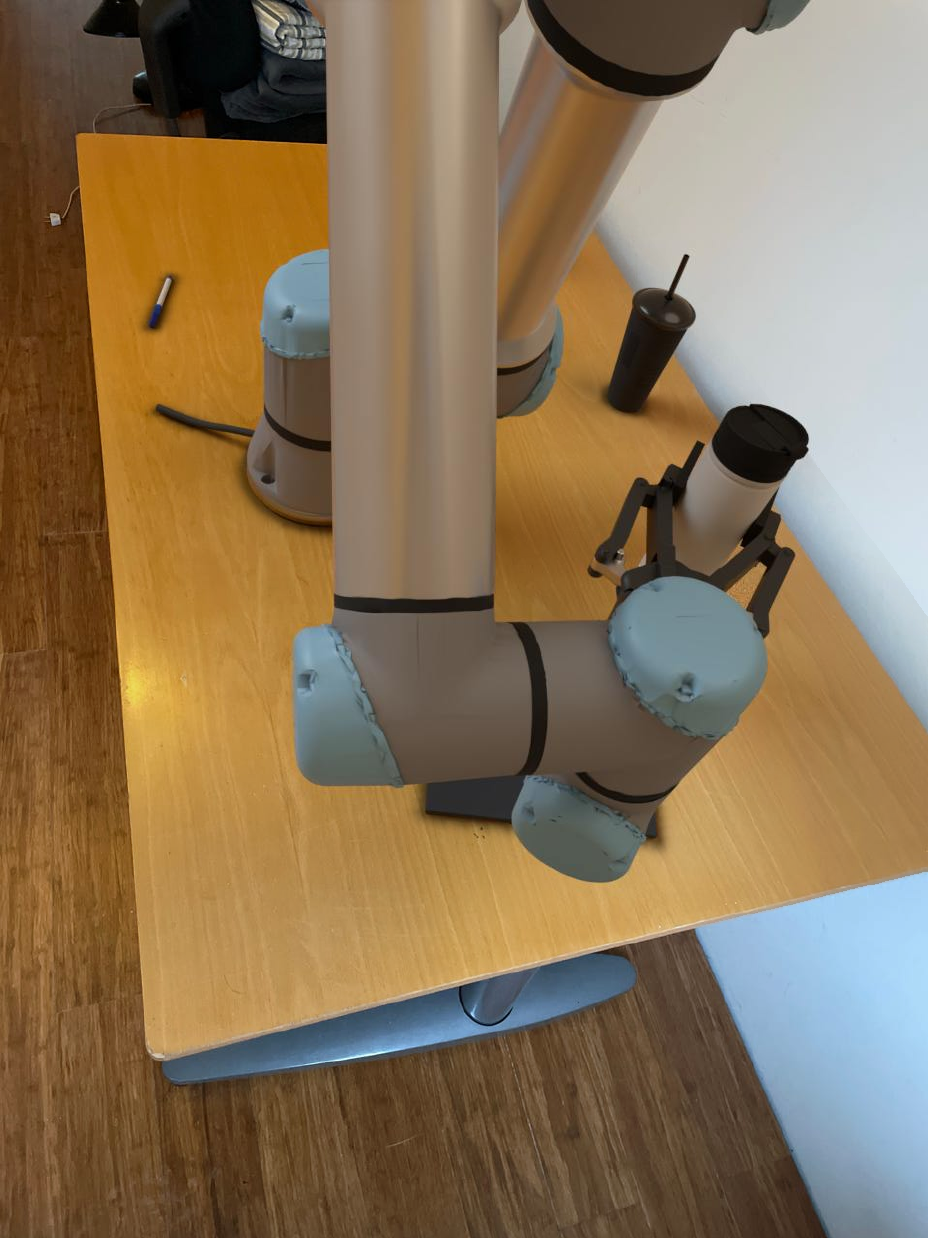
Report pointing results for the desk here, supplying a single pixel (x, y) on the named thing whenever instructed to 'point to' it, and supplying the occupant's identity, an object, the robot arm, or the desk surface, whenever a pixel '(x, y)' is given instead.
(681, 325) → the drinking cup
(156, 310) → the ballpoint pen
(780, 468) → the travel mug
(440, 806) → the slate mat
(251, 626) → the desk surface
